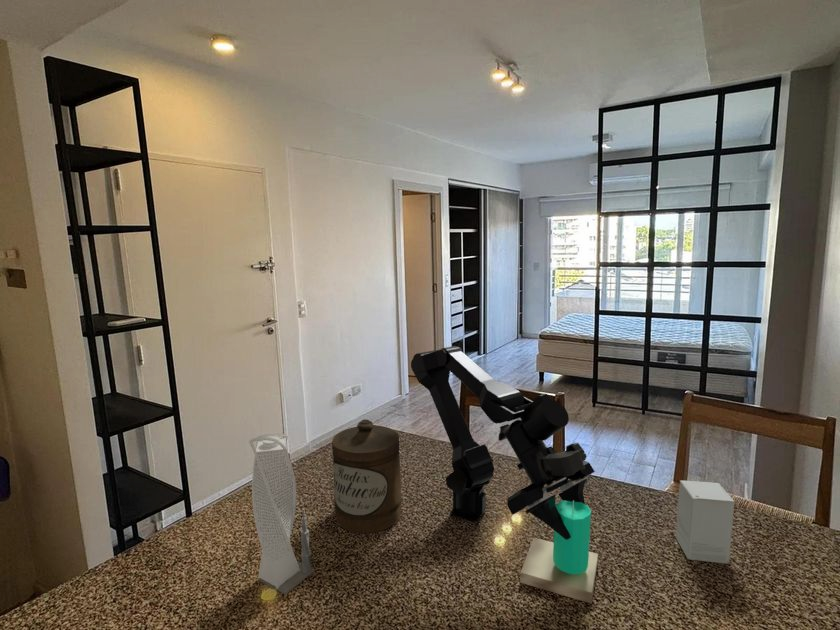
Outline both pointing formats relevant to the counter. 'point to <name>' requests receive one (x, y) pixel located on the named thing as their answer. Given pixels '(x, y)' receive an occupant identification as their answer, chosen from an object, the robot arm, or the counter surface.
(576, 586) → the beige square slab
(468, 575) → the counter surface
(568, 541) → the candle
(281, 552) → the skyscraper
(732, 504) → the supplement box
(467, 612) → the counter surface
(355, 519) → the wooden container
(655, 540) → the counter surface
